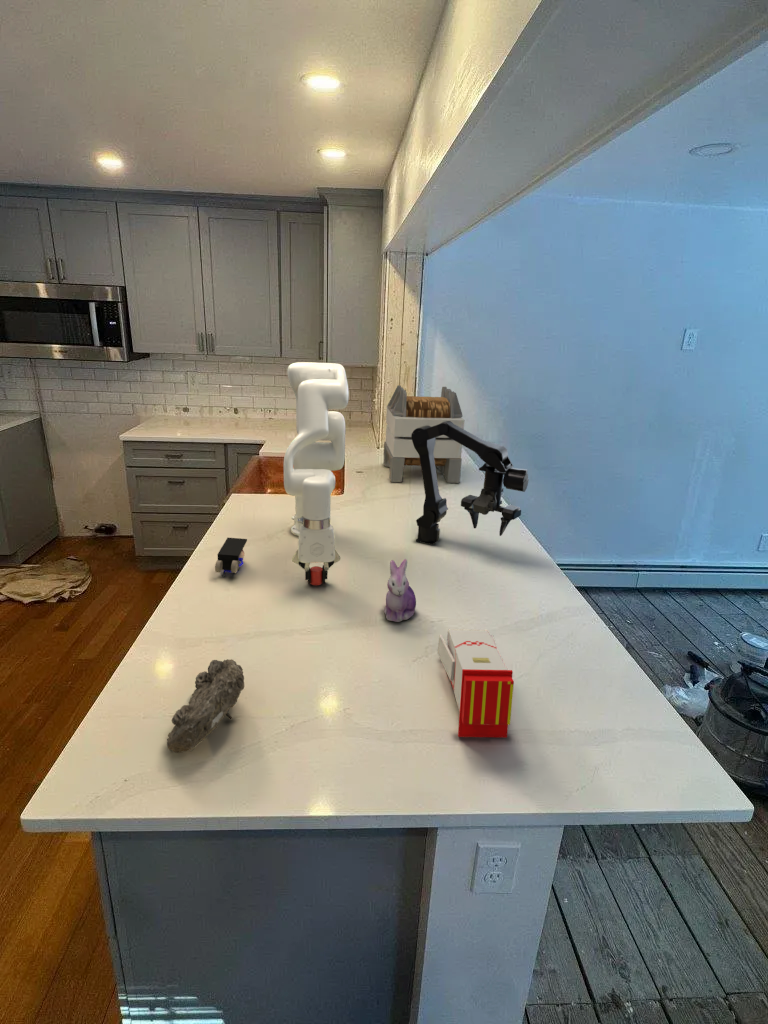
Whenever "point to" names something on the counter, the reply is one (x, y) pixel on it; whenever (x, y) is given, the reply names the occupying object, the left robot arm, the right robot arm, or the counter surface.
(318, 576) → the can
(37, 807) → the counter surface
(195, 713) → the fossil
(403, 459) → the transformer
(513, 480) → the right robot arm
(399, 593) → the figurine
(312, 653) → the counter surface
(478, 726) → the toy
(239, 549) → the figurine character
